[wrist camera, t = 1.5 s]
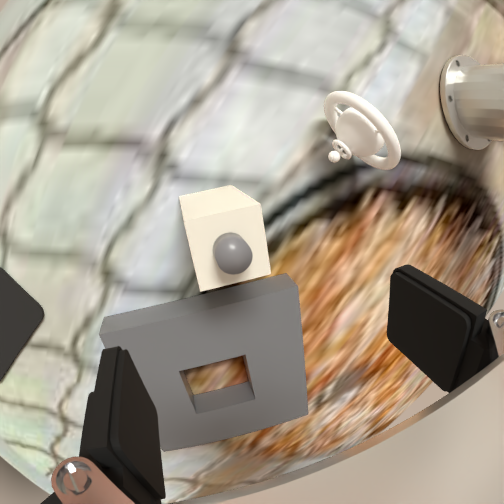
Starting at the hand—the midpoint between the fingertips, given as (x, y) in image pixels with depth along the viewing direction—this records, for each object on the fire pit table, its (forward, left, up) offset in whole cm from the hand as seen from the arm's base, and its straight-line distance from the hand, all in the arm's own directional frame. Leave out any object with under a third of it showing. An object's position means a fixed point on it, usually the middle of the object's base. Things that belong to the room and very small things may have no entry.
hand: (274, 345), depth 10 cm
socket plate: (+3, +16, -18) cm, 24 cm away
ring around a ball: (-12, -5, -19) cm, 23 cm away
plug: (0, 0, -19) cm, 19 cm away
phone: (+26, +6, -19) cm, 32 cm away
